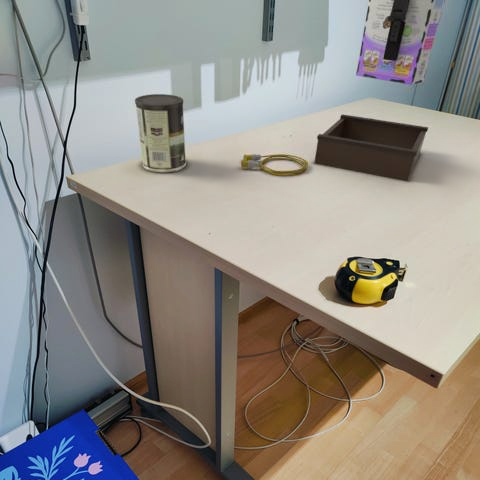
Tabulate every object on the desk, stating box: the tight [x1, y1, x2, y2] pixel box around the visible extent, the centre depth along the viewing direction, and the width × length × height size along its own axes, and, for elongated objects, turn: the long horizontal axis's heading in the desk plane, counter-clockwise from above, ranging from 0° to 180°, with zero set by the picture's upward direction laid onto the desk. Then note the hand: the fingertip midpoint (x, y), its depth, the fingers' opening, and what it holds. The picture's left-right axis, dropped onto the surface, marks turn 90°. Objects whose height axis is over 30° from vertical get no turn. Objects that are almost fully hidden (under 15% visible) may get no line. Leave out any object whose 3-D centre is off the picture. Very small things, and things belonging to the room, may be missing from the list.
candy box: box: [355, 0, 446, 85], centre depth 88 cm, size 14×6×16 cm, turn 46°
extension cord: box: [240, 153, 309, 177], centre depth 101 cm, size 12×16×2 cm
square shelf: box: [314, 113, 429, 182], centre depth 106 cm, size 23×23×7 cm
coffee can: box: [134, 93, 187, 173], centre depth 95 cm, size 10×10×14 cm
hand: (393, 57), depth 90 cm, fingers closed on candy box, 7 cm apart
